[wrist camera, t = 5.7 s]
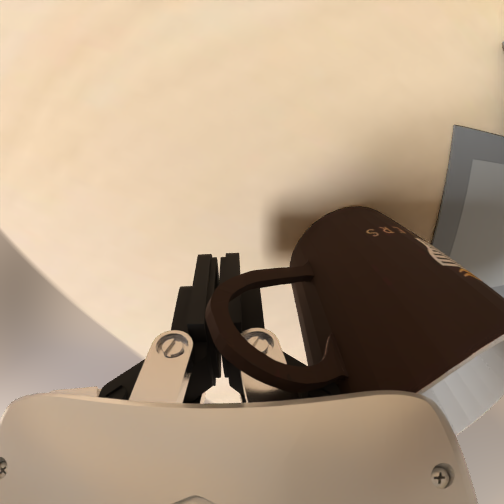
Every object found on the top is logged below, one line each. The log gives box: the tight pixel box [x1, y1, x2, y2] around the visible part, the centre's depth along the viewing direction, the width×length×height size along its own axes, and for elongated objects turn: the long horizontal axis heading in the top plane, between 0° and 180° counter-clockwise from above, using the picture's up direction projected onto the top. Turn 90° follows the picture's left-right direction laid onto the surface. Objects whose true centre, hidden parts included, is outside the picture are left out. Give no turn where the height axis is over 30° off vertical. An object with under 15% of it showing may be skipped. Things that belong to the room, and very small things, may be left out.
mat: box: [431, 125, 504, 298], centre depth 16 cm, size 13×13×1 cm
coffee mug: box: [205, 207, 504, 436], centre depth 11 cm, size 12×9×10 cm
